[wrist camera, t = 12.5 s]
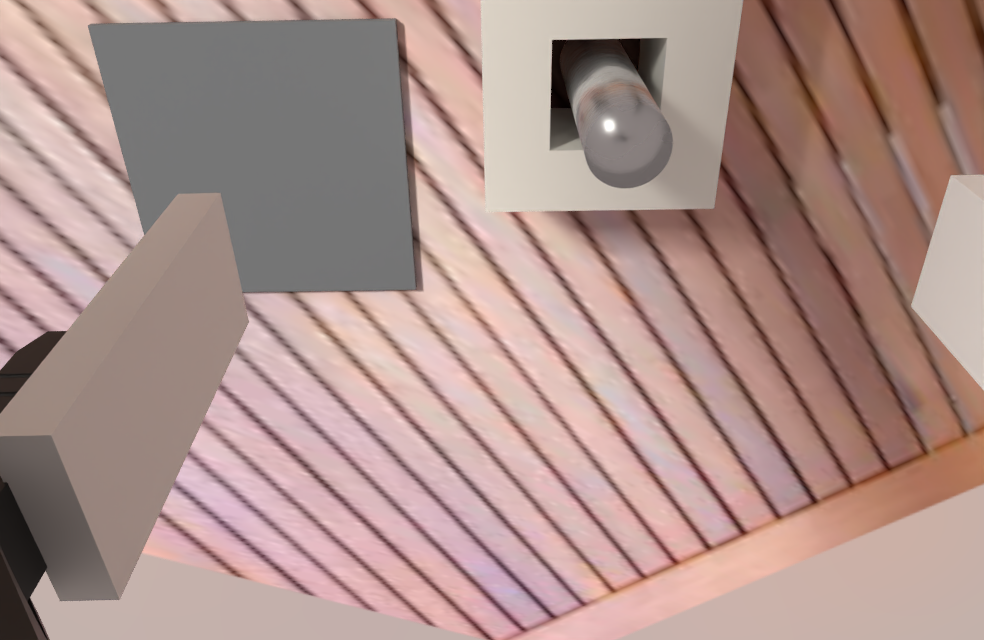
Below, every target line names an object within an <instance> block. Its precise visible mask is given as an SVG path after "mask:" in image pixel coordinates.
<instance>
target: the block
mask: <svg viewBox="0 0 984 640" xmlns="http://www.w3.org/2000/svg"><path fill="white" fill-rule="evenodd" d="M742 6H743V0H481V35H482V79H483V123H484V167H485V211H486V212H527V211H595V210H663V209H714V206H715V199H716V192H717V185H718V178H719V170H720V163H721V156H722V149H723V142H724V135H725V127H726V120H727V113H728V106H729V99H730V92H731V85H732V77H733V70H734V63H735V56H736V49H737V42H738V34H739V27H740V20H741V13H742ZM630 38H641V40H640V53H639V65H638V74H639V75H640V77H641V79H642V80H643V82H644V84H645V85H646V87H647V89H648V91H649V92H650V94H651V96H652V97H653V99H654V101H655V102H656V104H657V106H658V107H659V109H660V111H661V112H662V114H663V116H664V117H665V119H666V121H667V123H668V124H669V126H670V129H671V132H672V137H673V148H672V153H671V156H670V159H669V161H668V163H667V165H666V166H665V168H664V169H663V170H662V171H661V173H660V174H659V175H658V176H657V177H655V178H654V179H653V180H651V181H649V182H648V183H646V184H644V185H641V186H638V187H634V188H616V187H612V186H609V185H607V184H605V183H603V182H601V181H600V180H599V179H598V178H596V177H595V176H594V174H593V173H592V172H591V170H590V169H589V167H588V164H587V162H586V158H585V155H584V151H583V148H582V144H581V140H580V137H579V133H578V130H577V126H576V123H575V119H574V115H573V112H572V108H551V63H552V40H571V39H630Z"/></svg>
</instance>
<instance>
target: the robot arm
mask: <svg viewBox="0 0 984 640" xmlns="http://www.w3.org/2000/svg"><path fill="white" fill-rule="evenodd" d="M911 307H912V308H913V309H914V311H915V312H916V313H917V314H918V315H919V316H920V318H921V319H922V320H923V321H924V322H925V323H926V324H927V326H928V327H929V328H930V329H931V330H932V331H933V333H934V334H935V335H936V336H937V337H938V338H939V339H940V341H941V342H942V343H943V344H944V345H945V346H946V348H947V349H948V350H949V351H950V352H951V353H952V354H953V356H954V357H955V358H956V359H957V360H958V361H959V363H960V364H961V365H962V366H963V367H964V368H965V369H966V371H967V372H968V373H969V374H970V375H971V376H972V378H973V379H974V380H975V381H976V382H977V383H978V384H979V386H980V387H981V388H982V389H983V390H984V175H951V176H950V180H949V183H948V186H947V189H946V193H945V196H944V199H943V203H942V206H941V209H940V212H939V216H938V219H937V222H936V226H935V229H934V232H933V235H932V239H931V242H930V245H929V249H928V252H927V255H926V259H925V262H924V265H923V268H922V272H921V275H920V278H919V282H918V285H917V288H916V291H915V295H914V298H913V301H912V305H911ZM248 323H249V320H248V316H247V311H246V307H245V302H244V297H243V293H242V288H241V284H240V279H239V275H238V270H237V266H236V261H235V257H234V252H233V248H232V243H231V239H230V234H229V230H228V225H227V220H226V216H225V211H224V207H223V202H222V198H221V193H192V194H177V196H176V197H175V198H174V199H173V201H172V202H171V203H170V204H169V206H168V207H167V208H166V209H165V211H164V212H163V213H162V214H161V215H160V217H159V218H158V219H157V220H156V222H155V223H154V224H153V225H152V227H151V228H150V229H149V230H148V232H147V233H146V234H145V235H144V237H143V238H142V239H141V240H140V241H139V243H138V244H137V245H136V246H135V248H134V249H133V250H132V251H131V253H130V254H129V255H128V256H127V258H126V259H125V260H124V261H123V262H122V264H121V265H120V266H119V267H118V269H117V270H116V271H115V272H114V274H113V275H112V276H111V277H110V279H109V280H108V281H107V282H106V284H105V285H104V286H103V287H102V288H101V290H100V291H99V292H98V293H97V295H96V296H95V297H94V298H93V300H92V301H91V302H90V303H89V305H88V306H87V307H86V308H85V309H84V311H83V312H82V313H81V314H80V316H79V317H78V318H77V319H76V321H75V322H74V323H73V324H72V326H71V327H70V328H69V329H68V331H51V332H46V333H45V334H43V335H42V336H40V337H38V338H37V339H35V340H34V341H32V342H31V343H29V344H28V345H26V346H25V347H23V348H21V349H20V350H18V351H17V352H16V353H15V354H14V355H13V356H12V358H11V359H10V360H9V361H8V362H7V363H6V365H5V366H4V367H3V368H2V369H1V370H0V640H50V639H49V637H48V635H47V633H46V630H45V628H44V626H43V624H42V622H41V619H40V617H39V615H38V612H37V610H36V609H35V607H34V605H33V603H32V601H31V599H30V596H31V594H32V593H33V591H34V589H35V588H36V586H37V584H38V582H39V581H40V579H41V577H42V576H43V574H44V572H45V570H46V572H47V574H48V576H49V579H50V581H51V583H52V585H53V587H54V589H55V591H56V593H57V595H58V597H59V599H60V601H83V600H119V599H120V598H121V596H122V594H123V591H124V589H125V587H126V585H127V582H128V581H129V578H130V576H131V574H132V572H133V570H134V568H135V566H136V563H137V561H138V559H139V557H140V555H141V553H142V551H143V548H144V546H145V544H146V542H147V540H148V538H149V535H150V533H151V531H152V529H153V527H154V525H155V523H156V520H157V518H158V516H159V514H160V512H161V510H162V508H163V505H164V503H165V501H166V499H167V497H168V495H169V492H170V490H171V488H172V486H173V484H174V482H175V480H176V477H177V475H178V473H179V471H180V469H181V467H182V465H183V462H184V460H185V458H186V456H187V454H188V452H189V449H190V447H191V445H192V443H193V441H194V439H195V437H196V434H197V432H198V430H199V428H200V426H201V424H202V421H203V419H204V417H205V415H206V413H207V411H208V409H209V406H210V404H211V402H212V400H213V398H214V396H215V394H216V391H217V389H218V387H219V385H220V383H221V381H222V378H223V376H224V374H225V372H226V370H227V368H228V366H229V363H230V361H231V359H232V357H233V355H234V353H235V351H236V348H237V346H238V344H239V342H240V340H241V338H242V335H243V333H244V331H245V329H246V327H247V325H248Z"/></svg>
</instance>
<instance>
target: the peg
mask: <svg viewBox="0 0 984 640" xmlns="http://www.w3.org/2000/svg"><path fill="white" fill-rule="evenodd" d="M560 69H561V73H562V76H563V80H564V83H565V87H566V90H567V94H568V98H569V101H570V105H571V108H572V112H573V115H574V119H575V123H576V126H577V130H578V133H579V137H580V140H581V144H582V148H583V151H584V155H585V158H586V162H587V164H588V167H589V169H590V170H591V172H592V173H593V174H594V176H595V177H596V178H598V179H599V180H600V181H601V182H603V183H605V184H607V185H609V186H612V187H616V188H634V187H638V186H641V185H644V184H646V183H648V182H649V181H651V180H653V179H654V178H655V177H657V176H658V175H659V174H660V173H661V171H662V170H663V169H664V168H665V166H666V165H667V163H668V161H669V159H670V156H671V153H672V148H673V137H672V132H671V129H670V126H669V124H668V123H667V121H666V119H665V117H664V116H663V114H662V112H661V111H660V109H659V107H658V106H657V104H656V102H655V101H654V99H653V97H652V96H651V94H650V92H649V91H648V89H647V87H646V85H645V84H644V82H643V80H642V79H641V77H640V75H639V74H638V72H637V70H636V69H635V67H634V65H633V64H632V62H631V60H630V59H629V57H628V55H627V53H626V52H625V50H624V48H623V47H622V45H621V43H620V42H619V40H618V39H571V40H567V41H566V43H565V44H564V46H563V48H562V51H561V54H560Z"/></svg>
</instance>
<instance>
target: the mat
mask: <svg viewBox="0 0 984 640" xmlns="http://www.w3.org/2000/svg"><path fill="white" fill-rule="evenodd" d="M88 28H89V32H90V36H91V39H92V43H93V47H94V50H95V54H96V58H97V62H98V65H99V69H100V73H101V76H102V80H103V84H104V87H105V91H106V95H107V99H108V102H109V106H110V110H111V113H112V117H113V121H114V124H115V128H116V132H117V135H118V139H119V143H120V147H121V150H122V154H123V158H124V161H125V165H126V169H127V172H128V176H129V180H130V184H131V187H132V191H133V195H134V198H135V202H136V206H137V209H138V213H139V217H140V221H141V224H142V228H143V232H144V235H145V234H146V233H147V232H148V230H149V229H150V228H151V227H152V225H153V224H154V223H155V222H156V220H157V219H158V218H159V217H160V215H161V214H162V213H163V212H164V211H165V209H166V208H167V207H168V206H169V204H170V203H171V202H172V201H173V199H174V198H175V197H176V196H177V194H192V193H221V198H222V202H223V207H224V211H225V216H226V220H227V225H228V230H229V234H230V239H231V243H232V248H233V252H234V257H235V261H236V266H237V270H238V275H239V279H240V284H241V288H242V292H284V291H358V290H416V274H415V261H414V248H413V235H412V222H411V209H410V195H409V182H408V169H407V156H406V143H405V130H404V117H403V103H402V90H401V77H400V64H399V51H398V38H397V25H396V19H342V20H284V21H226V22H168V23H110V24H90V25H88Z"/></svg>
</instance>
